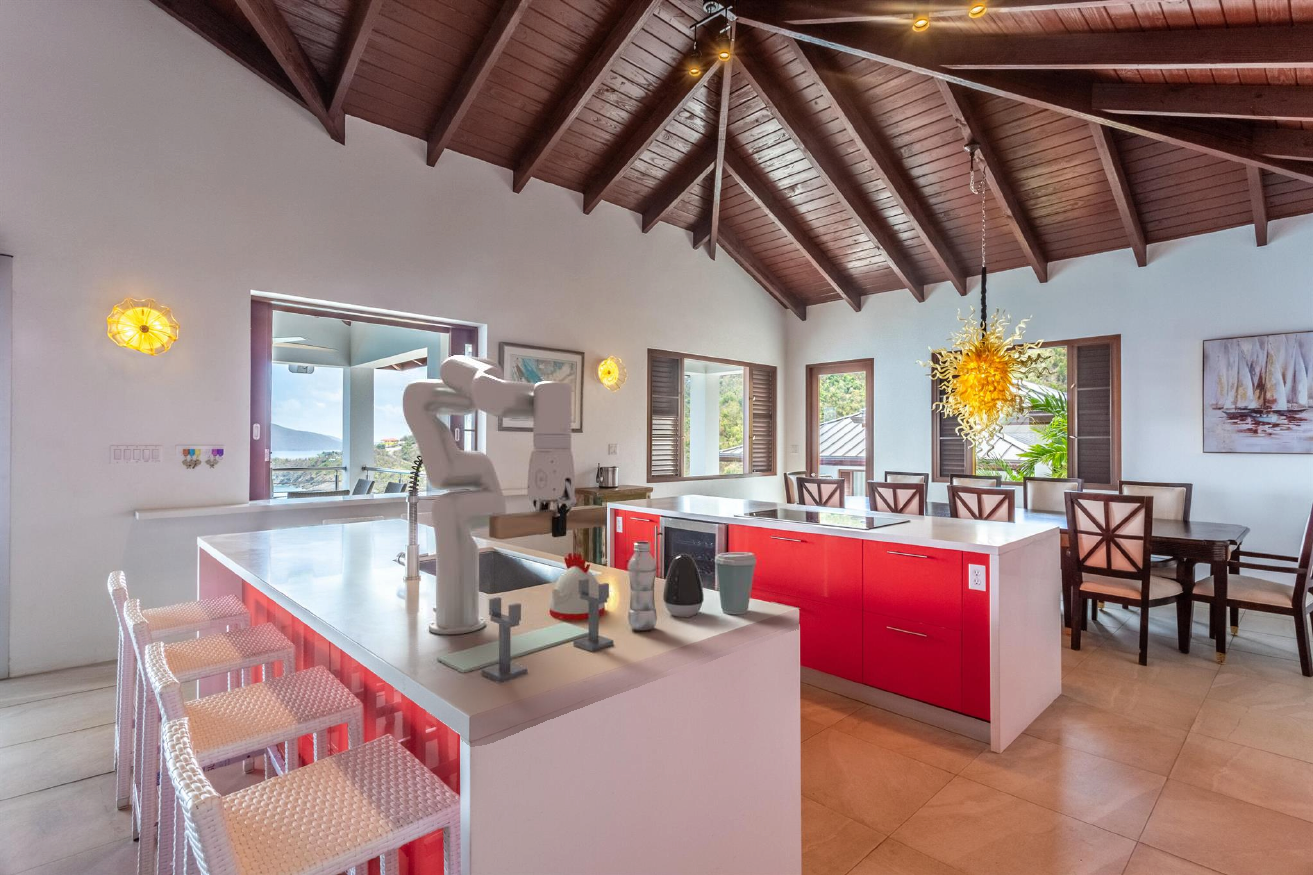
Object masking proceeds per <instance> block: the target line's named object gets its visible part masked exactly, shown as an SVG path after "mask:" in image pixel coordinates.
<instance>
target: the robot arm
mask: <svg viewBox="0 0 1313 875" xmlns="http://www.w3.org/2000/svg"><path fill="white" fill-rule="evenodd" d="M439 377H440V379H435V378H434V379H432V378H430V379H429V378H426V379H425V378H423V379H417V380H414V381H412V382H410V383H409V384H407V385H406V387H405V389H404V392H403V396H402V412H403V416H404V419H405V421H406V424H407V425H408V428H409V430H410V431H411V433H412V435H413V437H414V439H415V441H416V444H417V447H418V450H419V451H418V452H419V454H420V457H421V460H422V464H423V467H424V470H425V473H426V476H427V480H428V482H429V484H430V486H431V487H432V488H433V489H435V490H438V491H448V492H445V493H443V494H441V495H438V496H437V497H436V498H435V500H434V501H433V503H432V505H431V519H432V520H431V521H432V525H433V530H434V537H435V606H434V607H433V608H432V611H433V613H435V619H433V620H432V621H430V622H429V624H428V630H429V632H431V633H434V634H438V635H462V634H468V633H472V632H476V631H479V630H480V629H483V628H484V627H485V626H486V618H485V617H483V616H481V615H479V614H480V613H479V612H480V611H479V610H480V609H479V603H480V602H479V601H480V600H479V598H480V597H479V596H480V589H479V588H480V581H479V580H480V573H479V572H480V570H479V569H480V562H479V561H480V559H479V558H480V552H479V547H478V544H477V542H476V541H475V539H474V538H473V536H472V535H471V533H470V532H473V531H478V530H486V529H489V516H490V515H500V514H507V504H506V500H505V497H504V494H503V490H502V488H501V484H500V482H499V479H498V478H499V477H498V476H497V472H496V470H495V467H494V464H493V462H492V460H491V458H490V457H488V455H487V454H485V453H484V452H482V451H480V450H461V449H460V448H459V447H458V445H457V442H456V441H455V437H454V434H453V432H452V431H451V429H450V428H449V427H448V425H447V424H446V423H445V422H444V421H443V420H441V419H440V418H439V417H438V415H442V416H443V415H445V416H447V415H448V416H468V415H471V414H473V413H474V412H476V411H477V410H480V411H482V412H484V413H486V414H488V415H491V416H493V417H497V418H501V419H523V420H524V419H525V420H532V421H533V423H532V424H533V427H532V428H533V437H532V438H533V439H532V446H533V447H532V450H531V452H530V457H529V462H528V471H527V492H526V494H527V497H528V499H529V500H530V502H531V503H532V505H533V507H534V508H535V510H534V511H540V510H550V509H551V503H552V509H554V516H555V517H552V533H551V537H552V538H561V537H566V536H567V531H566V520H567V516H568V515H569V511H570V509H571V507H575V505H576V504H577V498H576V495H575V490H576V483H575V482H576V479H575V478H576V477H575V476H576V475H575V466H574V464H575V462H574V457H573V450H572V402H573V401H572V400H573V399H572V393H573V392H572V387H571V385H570V384H569V383H567V382H563V381H556V380H555V381H551V380H548V381H546V380H545V381H539V382H537V383H534V382H524V381H516V380H515V381H514V380H513V381H512V380H506V379H505V376H504V374H503V370H502V367H501V365H500V364H498V362H496V361H495V360H493V359H491V358H485V357H484V358H483V357H477V356H470V355H453V356H451V357H448V358H446V359H445V360H444V361H443V362H442V364H441V366H440V368H439ZM456 490H457V491H456ZM548 534H550V533H546V534H545V535H548ZM538 535H540V536H541V535H543V534H538Z"/></svg>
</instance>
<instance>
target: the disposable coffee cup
mask: <svg viewBox="0 0 1313 875" xmlns="http://www.w3.org/2000/svg"><path fill="white" fill-rule="evenodd" d="M714 562H715V570H716V576H717V586H718V593H719V599H720V600H719V602H720V608H721V610H722V612H723V613H725V614H729V615H744V614H747V612H748V609H749V606H750V600H751V592H752V586H753V580H754V574H755V567H756V564H757V558H756V557H755V553H754V552H743V551H742V552H741V551H739V552H738V551H736V552H732V551H731V552H723V553H722V552H721V553H717V555H716V556H715V557H714Z"/></svg>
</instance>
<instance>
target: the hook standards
mask: <svg viewBox="0 0 1313 875" xmlns="http://www.w3.org/2000/svg"><path fill="white" fill-rule="evenodd" d="M579 594H580V599H583V600H587V601H589V619H588V630H589V635H587V636H584V637H580V638H577V639H574V640H573V643H572V644H573V646H574V647H577V648H580V649H582V650H585V651H588V652H591V653H594V652H597V651H600V650H602V649H606V648H608V647H612V646H614V644H615V643H614V639H610V638H608V637H605V636H602V635H599V634H600V633H599V628H600V627H599V625H600V624H599V619H600V618H599V617H600V616H599V604H603V603H605V604H606V603H608V599H609V598H610V583H609V582H604V583H600V584H599V595H595V594H592V593H589V579H587V578H585V579H580V580H579ZM488 615H489V616H490V622H493V623H496V624H498V640H499V663H496V664H492V665H489V666H486V667H483V668H481V675H482V676H483V677H486V678H488V679H490V680H492V681H495V682H496V681H497V682H496V683H498V684H501V683H505V682H507V681H510V680H513V679H516V678H519V677H520V678H521V677H523V676H525V675H528V672H529V671H528V669H529V668H528V667H525V666H523V665H521V664H518V663H516V662H513V661H511V659H510V637H511V630H512V629H511V628H514V627H518V626H520V622H521V621H522V603H519V602H518V603H517V602H516V603H512V604H508V615H506V614H503V613H502V597H499V596H497V597H493V598H489V599H488ZM504 681H505V682H504Z"/></svg>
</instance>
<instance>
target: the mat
mask: <svg viewBox="0 0 1313 875" xmlns="http://www.w3.org/2000/svg"><path fill="white" fill-rule="evenodd" d="M587 636H589V629H587V628H584V627H581V626H577V625H575V624H571V623H568V622H560V623H556V624H552V625H549V626H546V627H542V628H538V629H534V630H531V631H528V632H524V633H520V634H517V635H513V636H510V660H512V659H515V658H518V657H521V656H526V655H528V654H532V653H534V652H538V651H541V650H544V649H546V648H550V647H555V646H557V645H560V644H564V643H567V642H570V641H574V640H578V639H581V638H584V637H587ZM437 660H438V662H439V661H441V662H442V664H443V663H444V664H443V665H445V664H446V666H447V665H449V666H450V667H449V666H448V667H449V668H451V667H453V668H454V670H455V669H457V670H456V671H458V670H459V671H458V672H460V673H462V672H463V673H462V674H466V673H469V671H470V672H472V671H471V670H473V671H475V669H476V670H479V669H484V668H487V667H490V666H493V665H497V664H499V639H498V640H496V641H491V642H488V643H484V644H480V645H476V646H473V647H470V648H466V649H462V650H458V651H456V652H451V653H448V654H445V655H441V656H437V657H436V661H437ZM441 662H440V663H441ZM453 668H452V669H453ZM465 672H466V673H465Z"/></svg>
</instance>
